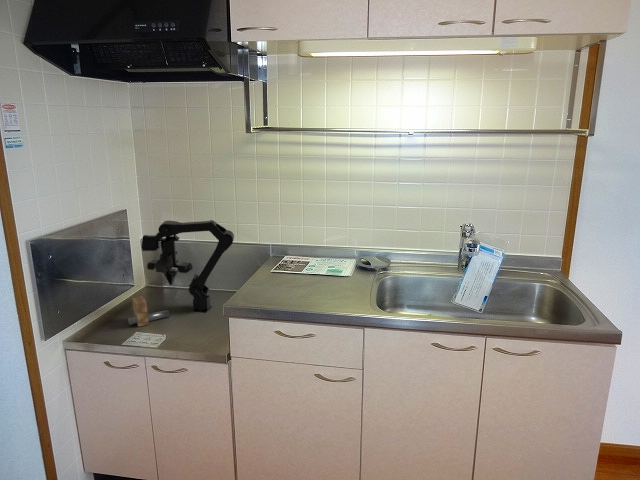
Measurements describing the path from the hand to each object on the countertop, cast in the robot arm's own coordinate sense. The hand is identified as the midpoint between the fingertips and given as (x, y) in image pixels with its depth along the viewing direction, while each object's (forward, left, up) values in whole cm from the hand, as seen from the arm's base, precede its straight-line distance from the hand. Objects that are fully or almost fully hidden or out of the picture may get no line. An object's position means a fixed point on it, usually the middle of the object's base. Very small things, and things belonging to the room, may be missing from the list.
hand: (171, 284), depth 206 cm
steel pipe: (+4, +12, -12) cm, 18 cm away
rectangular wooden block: (+6, +14, -12) cm, 20 cm away
